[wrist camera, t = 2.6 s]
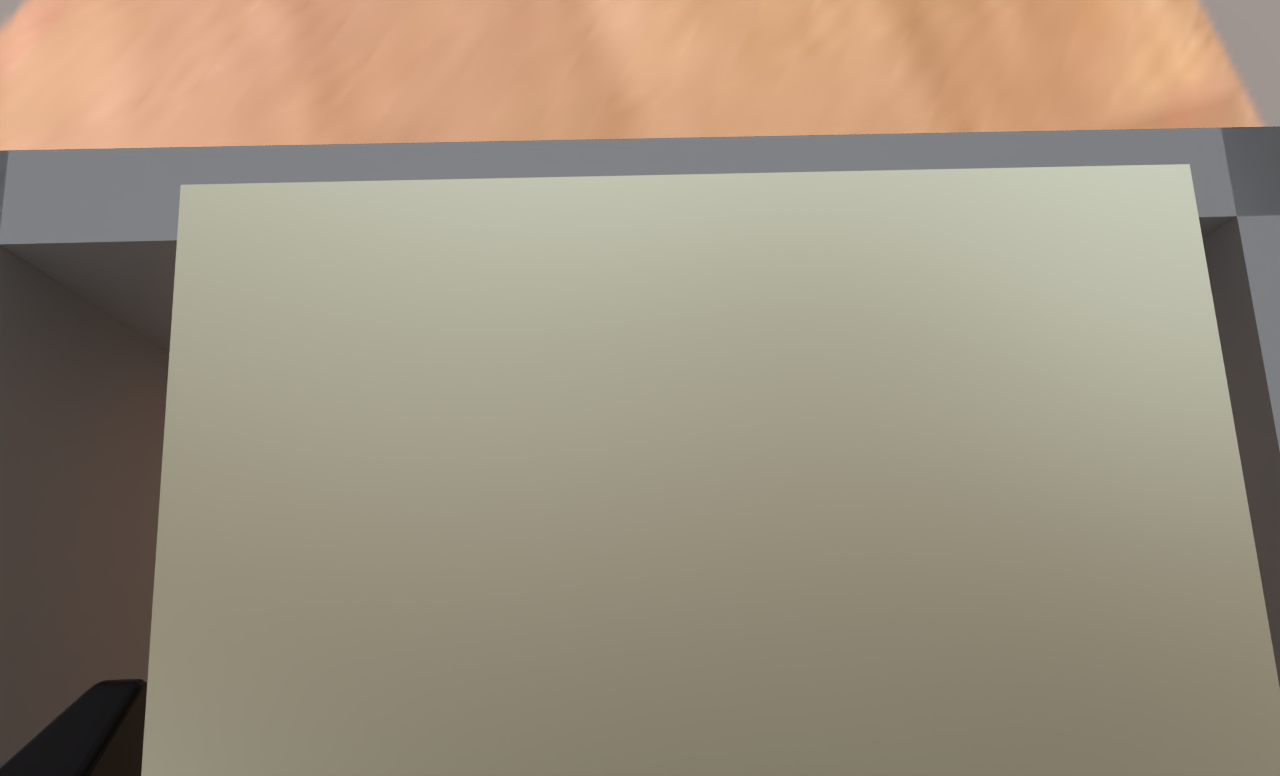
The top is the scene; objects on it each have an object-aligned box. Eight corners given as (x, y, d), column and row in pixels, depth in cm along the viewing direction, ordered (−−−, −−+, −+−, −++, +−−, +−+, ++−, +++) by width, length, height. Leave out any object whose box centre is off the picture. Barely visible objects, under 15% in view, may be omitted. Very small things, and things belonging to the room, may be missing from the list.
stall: (1152, 686, 17) (1432, 716, 11) (97, 732, 17) (-178, 789, 11) (1093, 280, 19) (1312, 125, 13) (129, 304, 18) (-94, 152, 12)
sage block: (793, 798, 17) (1391, 1334, 4) (485, 812, 16) (99, 1429, 4) (772, 492, 18) (1189, 163, 5) (483, 502, 18) (181, 185, 5)
